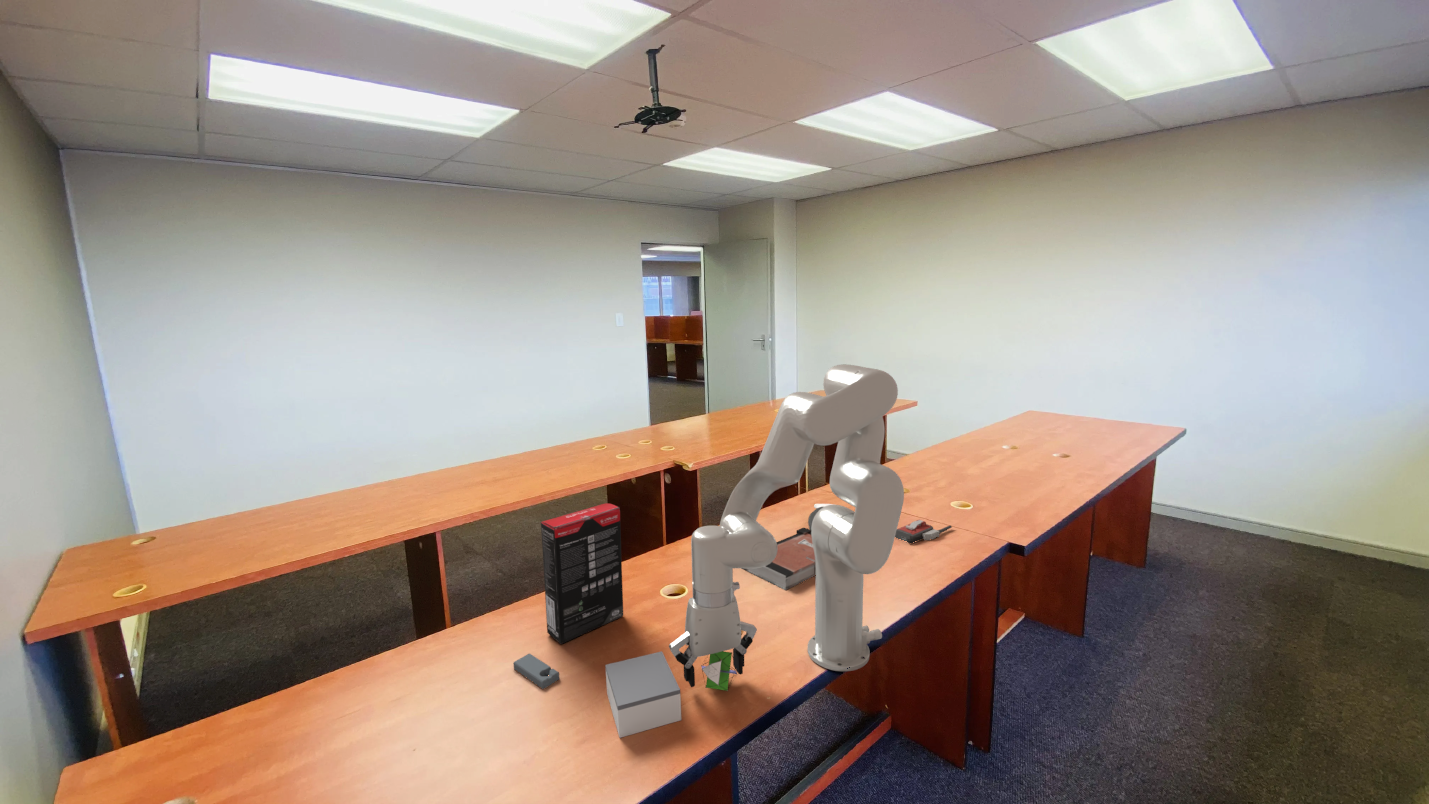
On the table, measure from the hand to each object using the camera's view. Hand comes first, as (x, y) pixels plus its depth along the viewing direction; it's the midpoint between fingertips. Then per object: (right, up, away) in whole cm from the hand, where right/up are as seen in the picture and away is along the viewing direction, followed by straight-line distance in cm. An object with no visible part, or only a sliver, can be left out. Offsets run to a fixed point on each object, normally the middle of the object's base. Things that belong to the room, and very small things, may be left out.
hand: (714, 676), depth 108 cm
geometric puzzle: (0, -2, 0) cm, 2 cm away
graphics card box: (-29, +1, +22) cm, 37 cm away
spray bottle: (+37, +12, +82) cm, 91 cm away
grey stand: (-13, -3, -4) cm, 14 cm away
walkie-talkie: (+65, +11, +68) cm, 95 cm away
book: (+23, +6, +50) cm, 56 cm away
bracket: (-36, -3, +6) cm, 36 cm away
